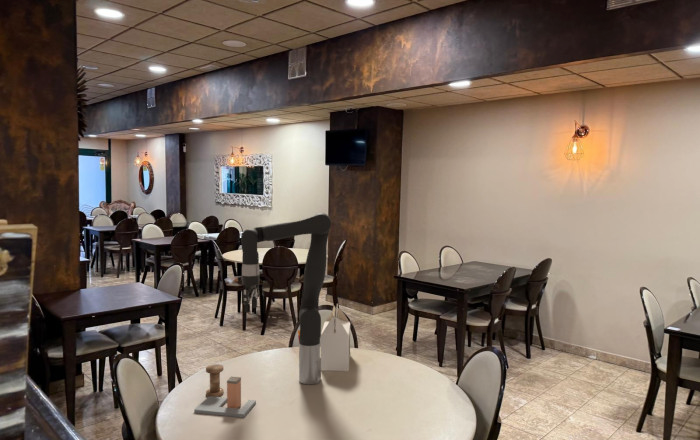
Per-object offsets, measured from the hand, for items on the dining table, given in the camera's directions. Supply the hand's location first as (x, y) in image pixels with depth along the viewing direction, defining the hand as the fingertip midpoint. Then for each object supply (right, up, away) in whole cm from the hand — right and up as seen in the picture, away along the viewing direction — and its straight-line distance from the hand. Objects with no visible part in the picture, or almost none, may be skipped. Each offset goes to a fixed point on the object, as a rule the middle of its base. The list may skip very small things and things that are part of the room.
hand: (251, 310), depth 207 cm
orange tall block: (-2, -33, -23) cm, 41 cm away
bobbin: (-12, -33, -12) cm, 37 cm away
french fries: (+20, -30, +40) cm, 54 cm away
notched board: (-5, -33, -25) cm, 42 cm away
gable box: (+37, -31, +25) cm, 54 cm away
